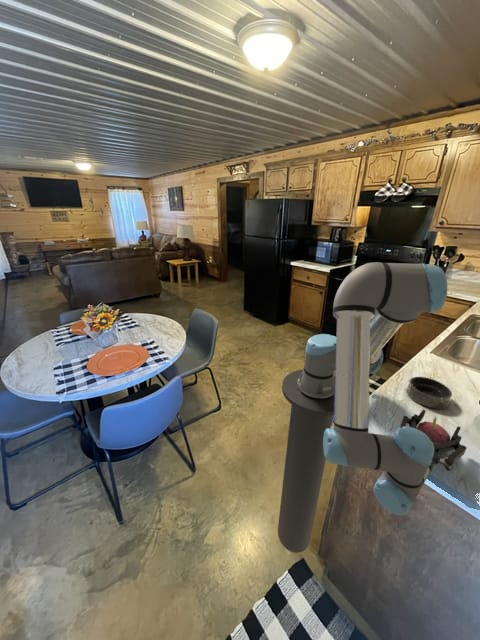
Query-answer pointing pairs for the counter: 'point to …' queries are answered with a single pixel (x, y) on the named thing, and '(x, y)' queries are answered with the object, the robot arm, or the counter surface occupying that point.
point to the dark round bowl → (429, 392)
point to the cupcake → (434, 432)
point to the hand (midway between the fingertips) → (439, 421)
